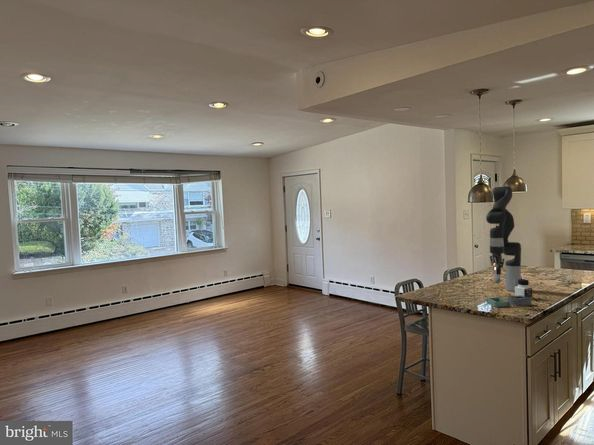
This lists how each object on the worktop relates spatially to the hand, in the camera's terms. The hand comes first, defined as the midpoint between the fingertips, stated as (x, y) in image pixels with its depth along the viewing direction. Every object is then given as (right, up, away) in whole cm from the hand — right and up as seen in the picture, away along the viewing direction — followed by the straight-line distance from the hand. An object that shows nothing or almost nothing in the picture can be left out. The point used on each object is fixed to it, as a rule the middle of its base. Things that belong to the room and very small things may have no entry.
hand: (497, 273), depth 247 cm
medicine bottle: (+24, -17, +15) cm, 33 cm away
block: (+14, -18, +1) cm, 23 cm away
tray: (+1, -19, +1) cm, 19 cm away
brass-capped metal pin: (0, -5, 0) cm, 5 cm away
